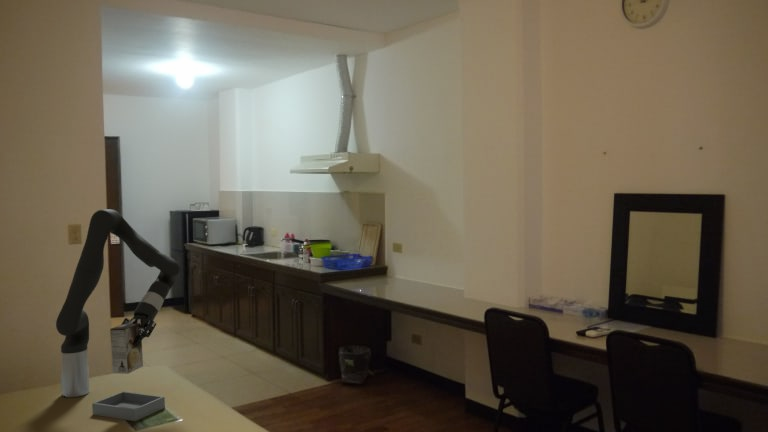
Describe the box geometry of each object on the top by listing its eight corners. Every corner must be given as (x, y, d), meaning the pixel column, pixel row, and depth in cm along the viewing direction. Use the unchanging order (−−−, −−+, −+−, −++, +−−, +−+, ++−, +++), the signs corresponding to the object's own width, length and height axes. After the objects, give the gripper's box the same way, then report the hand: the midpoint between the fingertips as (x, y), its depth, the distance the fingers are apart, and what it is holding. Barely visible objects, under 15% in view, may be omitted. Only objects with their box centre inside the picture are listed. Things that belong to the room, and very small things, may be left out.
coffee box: (127, 366, 223) (125, 322, 222) (143, 366, 222) (141, 323, 221) (111, 373, 214) (109, 328, 213) (128, 374, 213) (126, 328, 212)
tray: (92, 414, 216) (92, 403, 216) (123, 401, 229) (123, 391, 229) (135, 421, 208) (134, 409, 208) (164, 407, 221) (164, 396, 221)
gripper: (128, 300, 228) (105, 338, 218) (158, 301, 222) (135, 341, 212) (140, 311, 233) (117, 349, 223) (169, 313, 227) (147, 352, 217)
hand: (126, 345), depth 218 cm, fingers closed on coffee box, 7 cm apart
